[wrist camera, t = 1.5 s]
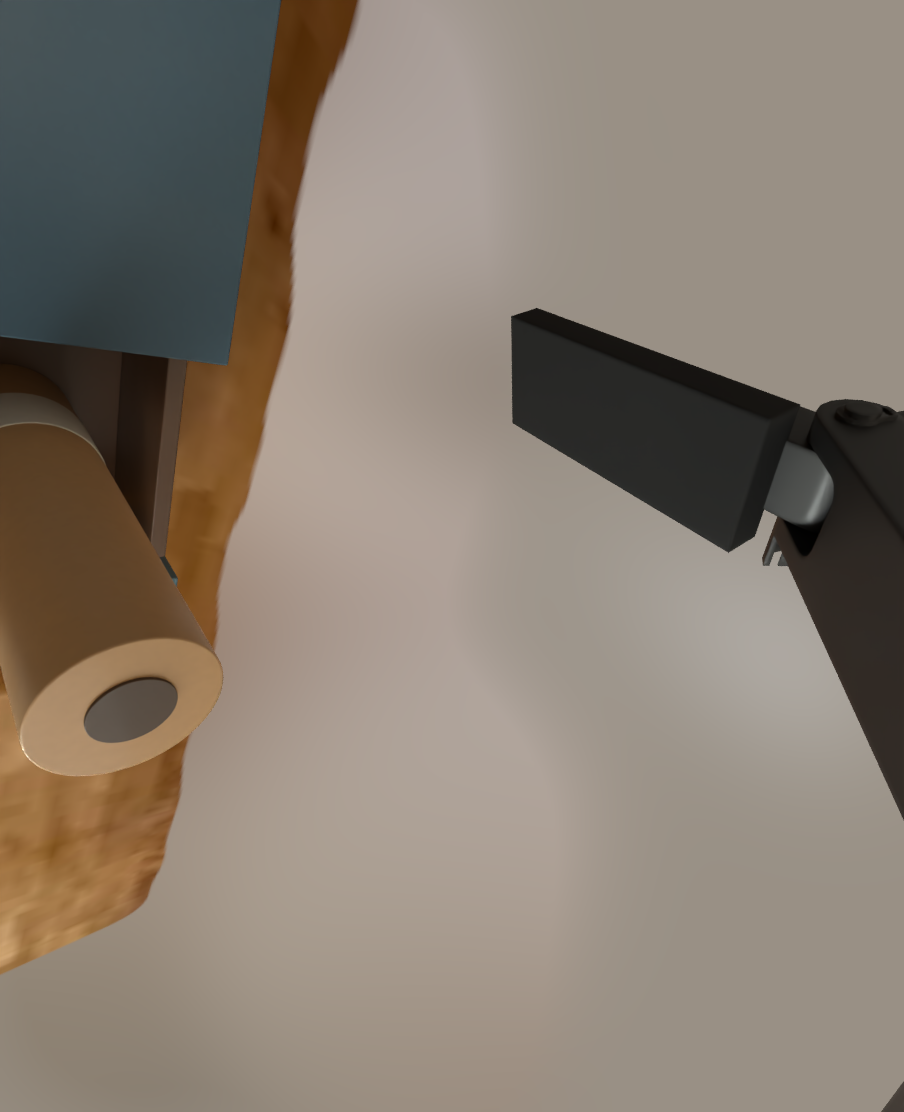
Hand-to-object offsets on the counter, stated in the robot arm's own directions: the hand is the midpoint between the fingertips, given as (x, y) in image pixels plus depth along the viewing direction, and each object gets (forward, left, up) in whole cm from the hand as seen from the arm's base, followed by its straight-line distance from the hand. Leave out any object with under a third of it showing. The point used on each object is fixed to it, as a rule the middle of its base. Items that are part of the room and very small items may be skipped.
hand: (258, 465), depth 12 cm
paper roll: (-6, -6, -22) cm, 24 cm away
